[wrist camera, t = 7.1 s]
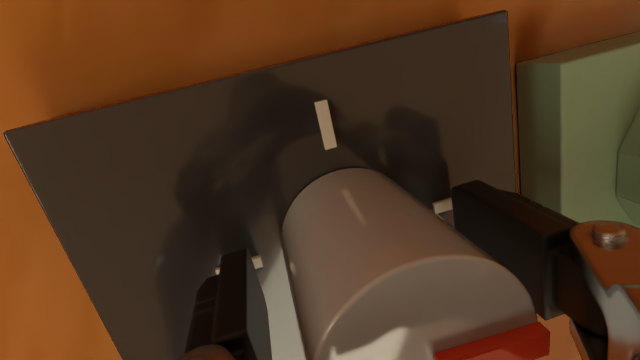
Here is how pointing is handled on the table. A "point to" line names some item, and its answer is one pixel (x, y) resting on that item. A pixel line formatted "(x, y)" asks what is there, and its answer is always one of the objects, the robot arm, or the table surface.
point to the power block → (582, 130)
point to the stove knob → (398, 279)
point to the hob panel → (260, 167)
